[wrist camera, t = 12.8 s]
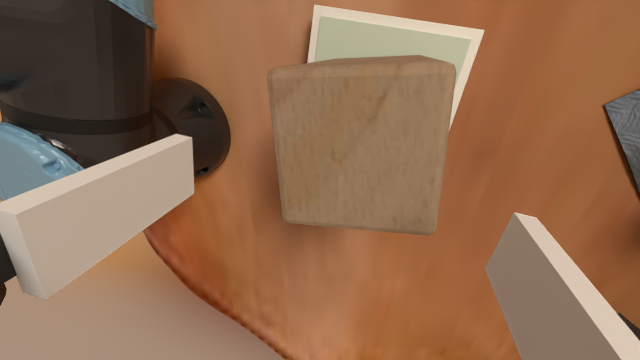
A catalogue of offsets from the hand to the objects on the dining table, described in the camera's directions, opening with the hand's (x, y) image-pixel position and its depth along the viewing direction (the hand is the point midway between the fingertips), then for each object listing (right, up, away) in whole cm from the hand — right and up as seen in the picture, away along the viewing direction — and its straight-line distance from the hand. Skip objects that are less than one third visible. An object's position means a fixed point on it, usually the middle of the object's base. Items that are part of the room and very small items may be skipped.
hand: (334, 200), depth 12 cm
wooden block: (+6, +10, +23) cm, 26 cm away
